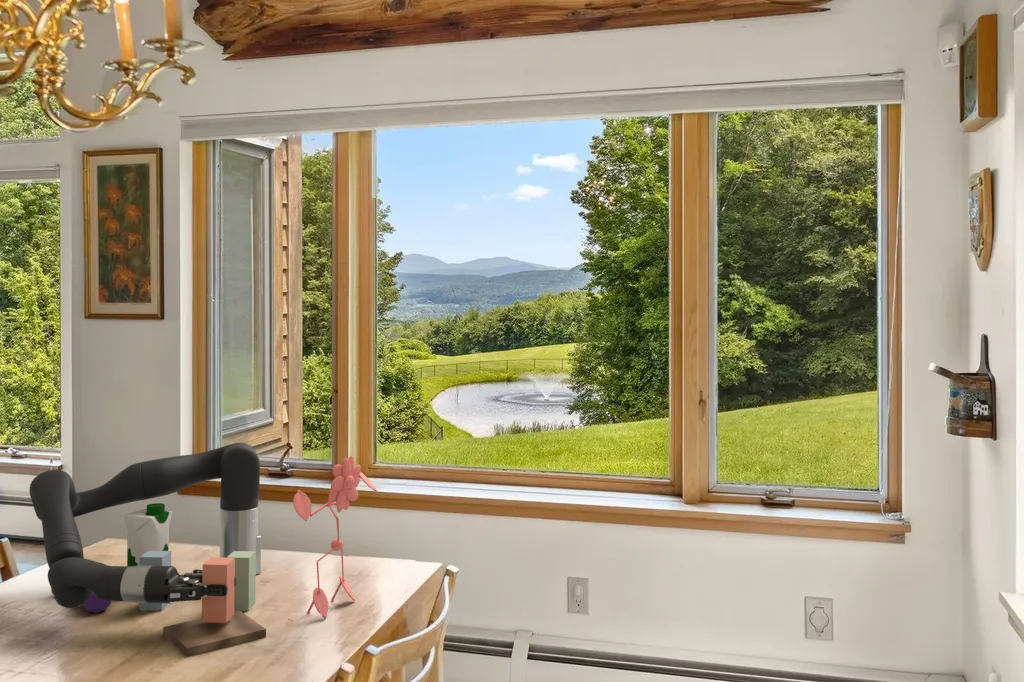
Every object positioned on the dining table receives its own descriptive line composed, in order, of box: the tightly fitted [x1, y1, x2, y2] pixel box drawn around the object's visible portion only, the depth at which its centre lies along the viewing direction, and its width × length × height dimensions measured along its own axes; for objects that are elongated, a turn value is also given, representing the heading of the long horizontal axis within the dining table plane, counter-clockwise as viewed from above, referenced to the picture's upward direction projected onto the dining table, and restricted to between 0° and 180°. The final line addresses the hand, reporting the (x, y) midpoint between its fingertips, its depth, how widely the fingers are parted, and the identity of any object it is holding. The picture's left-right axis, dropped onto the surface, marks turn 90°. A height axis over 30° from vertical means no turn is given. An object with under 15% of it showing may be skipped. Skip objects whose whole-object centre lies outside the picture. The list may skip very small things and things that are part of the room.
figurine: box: [287, 454, 378, 622], centre depth 184 cm, size 15×26×35 cm, turn 157°
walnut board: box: [162, 610, 267, 657], centre depth 170 cm, size 16×14×2 cm
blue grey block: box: [138, 550, 172, 611], centre depth 186 cm, size 5×5×12 cm
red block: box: [201, 556, 235, 623], centre depth 172 cm, size 5×5×12 cm
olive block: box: [227, 551, 257, 612], centre depth 187 cm, size 5×5×12 cm
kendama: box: [50, 588, 112, 613], centre depth 187 cm, size 6×6×20 cm
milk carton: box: [123, 502, 173, 566], centre depth 199 cm, size 9×9×20 cm
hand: (231, 585), depth 172 cm, fingers closed on red block, 5 cm apart
